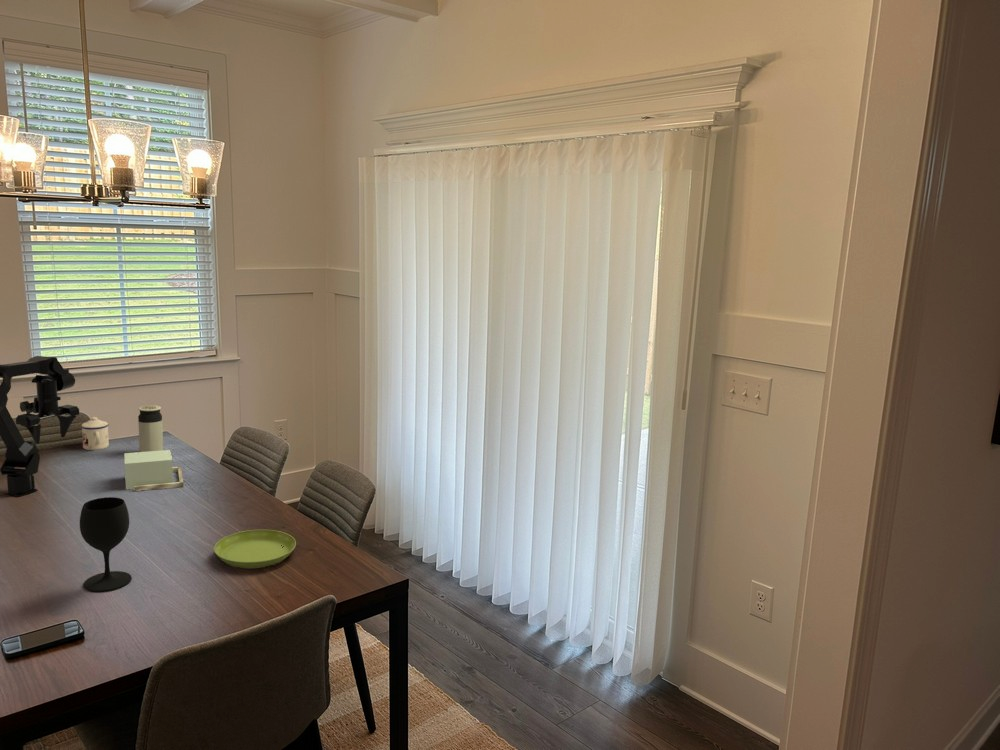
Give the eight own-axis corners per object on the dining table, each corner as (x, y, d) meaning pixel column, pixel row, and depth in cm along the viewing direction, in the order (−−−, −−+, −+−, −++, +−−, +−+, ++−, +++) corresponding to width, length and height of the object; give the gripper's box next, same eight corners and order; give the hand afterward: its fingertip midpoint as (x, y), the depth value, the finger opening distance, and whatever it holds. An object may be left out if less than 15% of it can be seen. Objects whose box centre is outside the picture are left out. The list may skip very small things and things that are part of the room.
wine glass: (120, 568, 184) (116, 492, 181) (139, 582, 178) (136, 504, 174) (75, 582, 176) (71, 503, 173) (94, 596, 170) (89, 515, 166)
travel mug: (148, 458, 270) (146, 411, 266) (135, 454, 274) (133, 407, 270) (167, 453, 276) (166, 407, 273) (154, 449, 281) (153, 404, 277)
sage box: (126, 490, 238) (124, 463, 236) (125, 478, 248) (124, 453, 247) (173, 485, 244) (172, 459, 243) (170, 474, 255) (170, 449, 253)
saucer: (210, 576, 183) (209, 564, 183) (218, 542, 203) (218, 531, 202) (296, 570, 189) (296, 558, 188) (296, 537, 208) (296, 527, 208)
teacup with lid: (80, 445, 281) (79, 415, 279) (107, 442, 287) (106, 413, 284) (84, 453, 272) (83, 423, 270) (112, 450, 277) (110, 420, 275)
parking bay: (134, 491, 237) (134, 487, 236) (135, 474, 253) (135, 470, 252) (183, 487, 243) (183, 482, 243) (181, 470, 259) (180, 466, 259)
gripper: (55, 386, 251) (58, 430, 254) (2, 396, 234) (5, 443, 237) (79, 390, 247) (82, 435, 250) (27, 400, 230) (30, 448, 233)
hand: (50, 440), depth 243 cm, fingers open, 9 cm apart
